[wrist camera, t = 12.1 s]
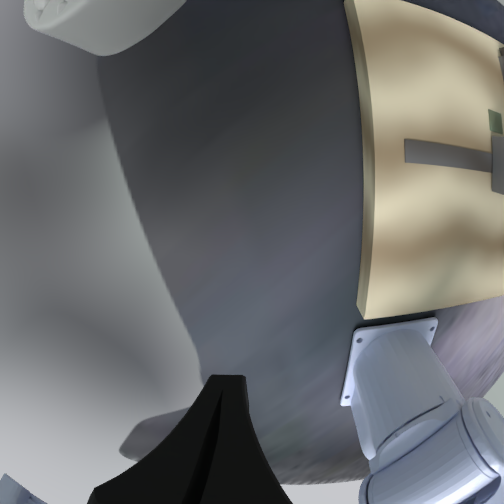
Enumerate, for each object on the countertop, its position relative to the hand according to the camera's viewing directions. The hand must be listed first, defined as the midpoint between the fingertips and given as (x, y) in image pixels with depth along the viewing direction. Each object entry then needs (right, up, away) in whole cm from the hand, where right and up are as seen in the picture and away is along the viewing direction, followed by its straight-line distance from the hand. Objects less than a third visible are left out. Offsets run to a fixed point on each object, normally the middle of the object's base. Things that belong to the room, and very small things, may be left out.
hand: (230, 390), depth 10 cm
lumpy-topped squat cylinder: (-8, +26, +1) cm, 27 cm away
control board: (+18, +13, +4) cm, 22 cm away
